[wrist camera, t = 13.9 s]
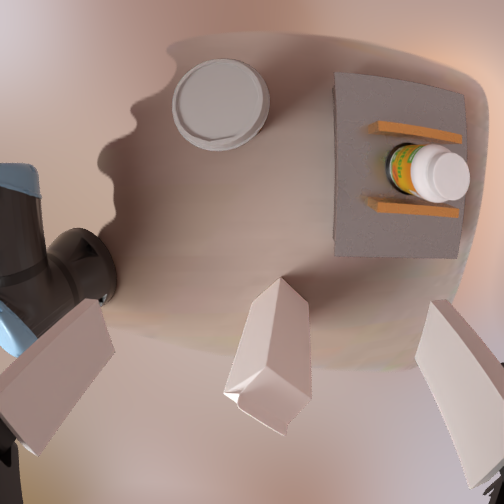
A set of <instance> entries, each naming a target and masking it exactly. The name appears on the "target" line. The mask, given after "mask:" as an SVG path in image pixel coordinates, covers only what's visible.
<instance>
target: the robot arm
mask: <svg viewBox="0 0 504 504" xmlns="http://www.w3.org/2000/svg"><path fill="white" fill-rule="evenodd" d="M41 198H42V196H41V194H40V187H39V175H38V171H37V169H36V168H35V167H34V166H33V165H30V164H25V163H0V346H1V347H2V348H3V349H4V350H5V351H7V352H8V353H9V354H11V355H12V356H15V357H17V359H16V360H15V361H14V362H13V363H12V364H11V365H10V366H9V367H8V368H7V369H6V370H5V371H4V372H3V373H2V374H1V375H0V504H23V500H22V491H21V483H20V472H19V457H18V447H17V444H16V443H15V442H14V441H15V440H16V438H17V439H18V440H19V441H20V443H21V444H22V445H23V446H24V447H25V448H26V449H27V450H29V451H30V452H32V453H33V454H35V455H36V456H38V457H39V456H40V454H41V453H42V451H43V450H44V448H45V447H46V445H47V444H48V442H49V441H50V440H51V438H52V437H53V435H54V434H55V432H56V431H57V429H58V428H59V427H60V425H61V424H62V423H63V421H64V420H65V418H66V417H67V415H68V414H69V413H70V411H71V410H72V408H73V407H74V406H75V405H76V403H77V402H78V400H79V399H80V398H81V396H82V395H83V394H84V392H85V391H86V390H87V388H88V387H89V386H90V384H91V383H92V382H93V380H94V379H95V378H96V377H97V375H98V374H99V372H100V371H101V370H102V369H103V367H104V366H105V365H106V364H107V362H108V361H109V360H110V358H111V357H112V356H113V355H114V353H115V350H114V347H113V344H112V341H111V339H110V336H109V333H108V330H107V327H106V324H105V321H104V318H103V314H102V311H101V308H100V307H102V306H103V305H104V304H105V303H107V302H108V301H109V300H110V299H111V298H112V296H113V294H114V292H115V288H116V271H115V267H114V263H113V260H112V258H111V256H110V254H109V252H108V250H107V248H106V247H105V245H104V244H103V243H102V241H101V240H100V239H99V238H98V237H97V236H96V235H94V234H93V233H92V232H90V231H88V230H86V229H83V228H73V229H70V230H68V231H65V232H64V233H62V234H60V235H59V236H58V237H57V238H56V239H55V240H54V241H53V243H52V244H51V245H50V246H49V247H48V248H47V249H46V245H45V238H44V230H43V222H42V210H41ZM415 360H416V362H417V364H418V366H419V368H420V370H421V372H422V374H423V376H424V378H425V380H426V382H427V384H428V386H429V388H430V391H431V393H432V395H433V397H434V399H435V401H436V404H437V406H438V408H439V410H440V413H441V415H442V417H443V419H444V422H445V424H446V427H447V429H448V431H449V434H450V436H451V439H452V441H453V444H454V446H455V449H456V451H457V454H458V457H459V460H460V462H461V465H462V468H463V471H464V474H465V477H466V480H467V483H468V486H469V489H472V488H475V487H477V486H479V485H481V484H483V483H485V482H487V481H489V480H490V479H491V478H492V477H493V476H494V475H495V474H496V473H497V472H498V471H500V474H501V476H500V477H499V478H498V479H497V480H496V481H495V482H494V483H492V484H491V485H490V486H489V487H488V488H487V489H486V490H485V492H484V494H483V495H486V494H487V493H489V492H490V491H491V490H492V489H493V488H494V490H493V492H492V493H491V494H490V495H489V496H491V499H490V501H489V504H504V363H500V362H499V361H498V360H497V358H496V357H495V356H494V355H493V354H492V352H491V351H490V349H489V348H488V347H487V346H486V344H485V343H484V342H483V341H482V339H481V338H480V337H479V336H478V335H477V333H476V332H475V331H474V330H473V329H472V328H471V327H470V325H469V324H468V323H467V322H466V321H465V320H464V318H463V317H462V316H461V315H460V314H459V313H458V312H457V311H456V309H455V308H454V307H453V306H452V305H451V304H450V303H449V302H448V301H447V300H446V299H445V300H435V301H430V306H429V310H428V314H427V318H426V322H425V325H424V329H423V332H422V336H421V339H420V343H419V346H418V349H417V352H416V355H415Z"/></svg>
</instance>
